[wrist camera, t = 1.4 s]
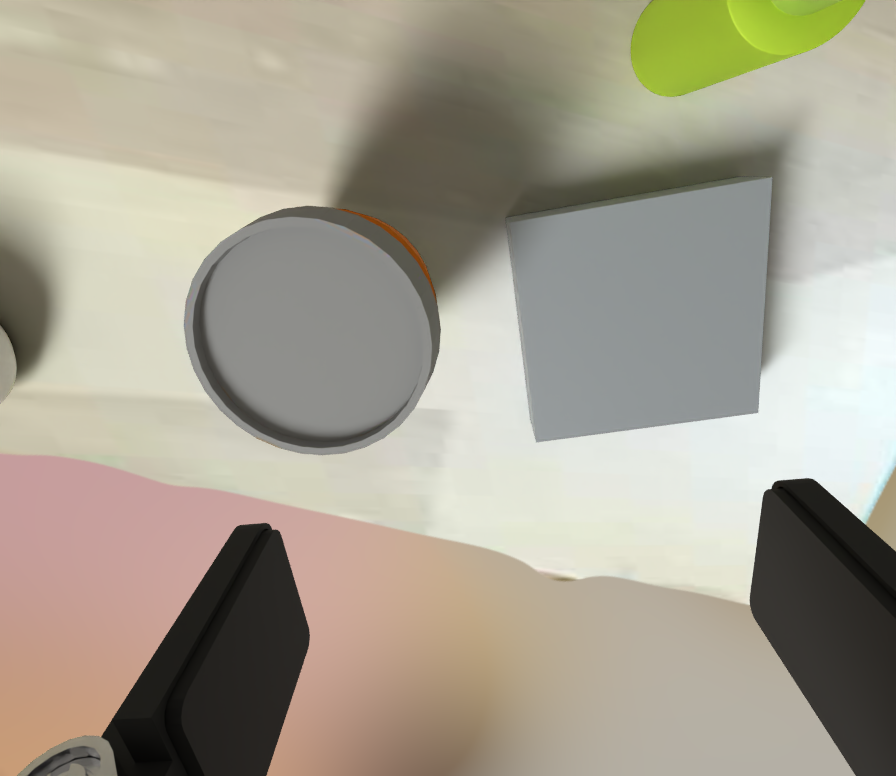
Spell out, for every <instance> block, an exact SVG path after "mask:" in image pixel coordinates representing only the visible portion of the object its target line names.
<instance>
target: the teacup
mask: <svg viewBox="0 0 896 776" xmlns="http://www.w3.org/2000/svg"><path fill="white" fill-rule="evenodd" d="M16 370H17V366H16V359H15V355H14V351H13V347H12V344H11V342H10V340H9V338H8V336H7V334H6V332H5V331H4V330H3V328H2V327H1V326H0V403H1V402H2V401H3V400H4V399H5V398H6V397H7V396H8V395H9V393H10V391H11V390H12V388H13V385H14V383H15V379H16Z"/></svg>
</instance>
